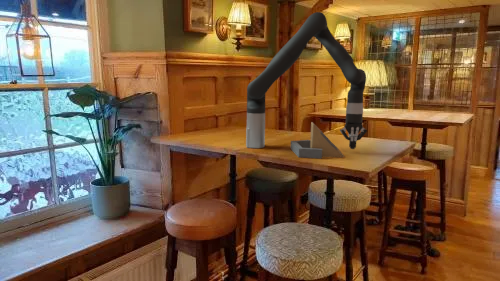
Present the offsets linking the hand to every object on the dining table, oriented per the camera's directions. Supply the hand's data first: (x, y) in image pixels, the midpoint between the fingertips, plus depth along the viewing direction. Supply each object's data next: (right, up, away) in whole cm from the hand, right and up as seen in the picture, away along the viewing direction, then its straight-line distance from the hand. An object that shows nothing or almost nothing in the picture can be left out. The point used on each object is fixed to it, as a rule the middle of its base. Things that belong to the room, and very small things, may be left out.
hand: (352, 148), depth 171 cm
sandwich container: (-13, -3, -5) cm, 14 cm away
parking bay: (-23, -2, -1) cm, 23 cm away
